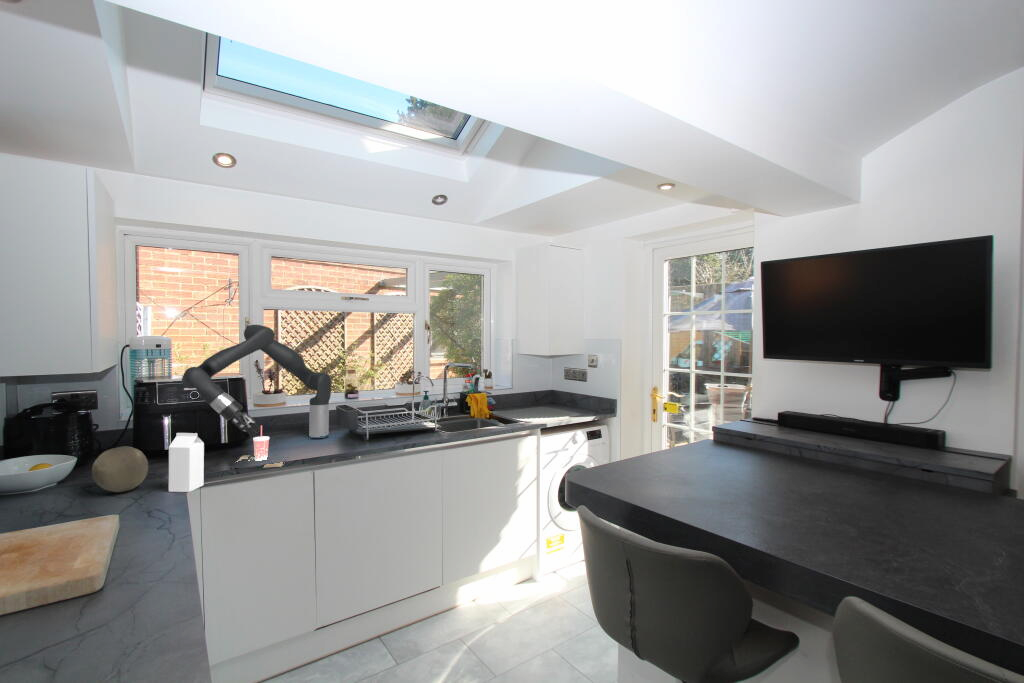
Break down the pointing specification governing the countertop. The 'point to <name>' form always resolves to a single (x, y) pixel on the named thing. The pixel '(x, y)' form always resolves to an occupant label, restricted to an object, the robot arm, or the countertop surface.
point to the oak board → (264, 465)
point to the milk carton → (186, 463)
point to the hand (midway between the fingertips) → (257, 433)
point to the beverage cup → (261, 447)
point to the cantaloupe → (120, 469)
